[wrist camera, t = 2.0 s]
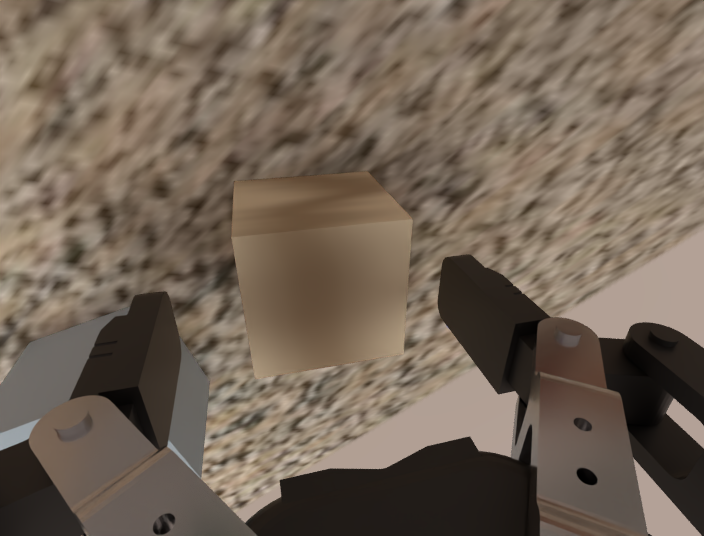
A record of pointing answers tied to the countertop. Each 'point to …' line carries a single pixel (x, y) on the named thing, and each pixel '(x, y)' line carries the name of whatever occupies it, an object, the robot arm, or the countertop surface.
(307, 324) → the maple block
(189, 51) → the countertop surface
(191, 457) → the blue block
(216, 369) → the countertop surface
